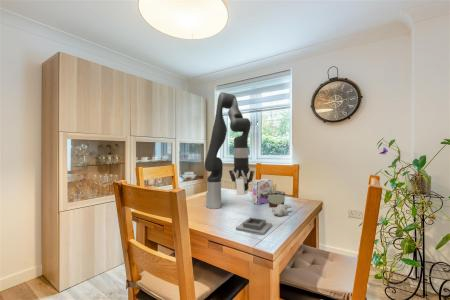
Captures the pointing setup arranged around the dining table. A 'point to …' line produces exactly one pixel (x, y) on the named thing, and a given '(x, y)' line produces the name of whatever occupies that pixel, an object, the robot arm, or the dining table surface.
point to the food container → (276, 198)
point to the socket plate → (254, 226)
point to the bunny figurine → (281, 209)
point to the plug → (240, 187)
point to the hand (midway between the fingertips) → (242, 190)
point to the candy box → (261, 191)
